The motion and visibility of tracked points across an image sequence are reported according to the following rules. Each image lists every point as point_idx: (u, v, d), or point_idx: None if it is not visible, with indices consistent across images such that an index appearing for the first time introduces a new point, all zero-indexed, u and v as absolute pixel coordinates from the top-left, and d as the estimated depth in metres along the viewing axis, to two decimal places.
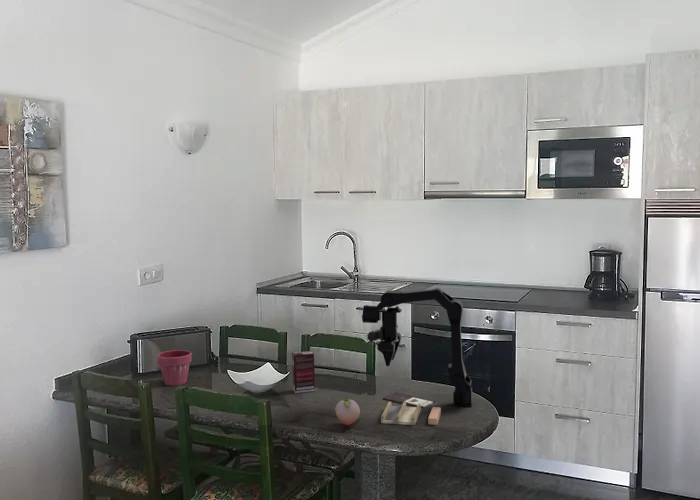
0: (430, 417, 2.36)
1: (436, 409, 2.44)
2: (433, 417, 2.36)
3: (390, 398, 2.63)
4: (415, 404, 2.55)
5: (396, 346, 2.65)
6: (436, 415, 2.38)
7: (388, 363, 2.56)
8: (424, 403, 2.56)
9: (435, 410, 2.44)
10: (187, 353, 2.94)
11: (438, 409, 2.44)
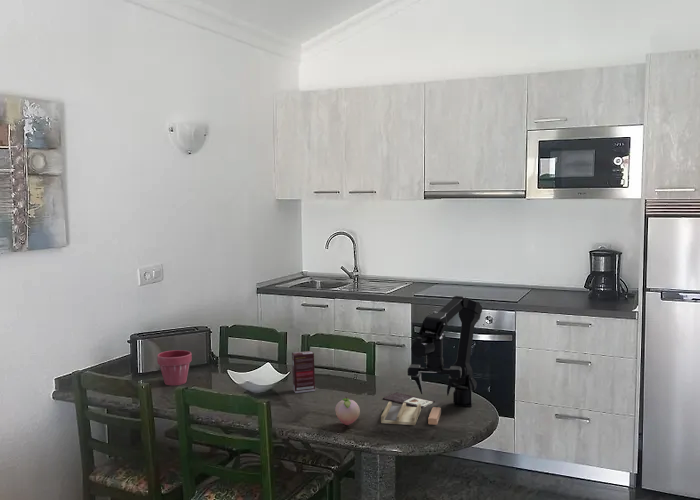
0: (430, 417, 2.36)
1: (436, 409, 2.44)
2: (433, 417, 2.36)
3: (390, 398, 2.63)
4: (415, 404, 2.55)
5: (448, 382, 2.37)
6: (436, 415, 2.38)
7: (420, 390, 2.41)
8: (424, 403, 2.56)
9: (435, 410, 2.44)
10: (187, 353, 2.94)
11: (438, 409, 2.44)
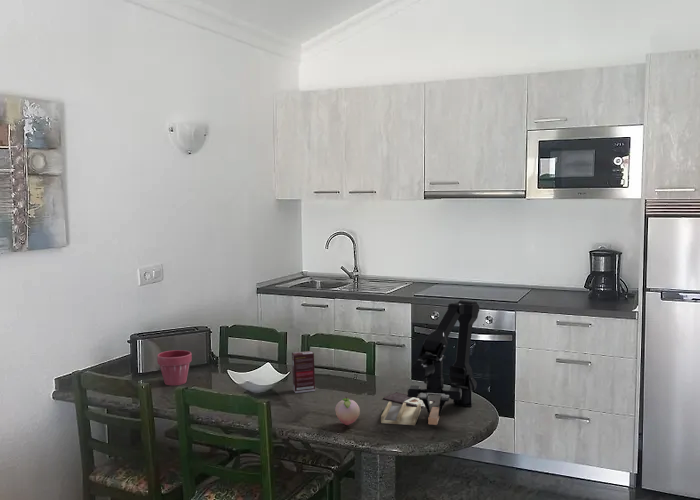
0: (430, 417, 2.36)
1: (436, 409, 2.44)
2: (433, 417, 2.36)
3: (390, 398, 2.63)
4: (415, 404, 2.55)
5: None
6: (436, 415, 2.38)
7: (428, 412, 2.41)
8: None
9: (435, 410, 2.44)
10: (187, 353, 2.94)
11: (438, 409, 2.44)
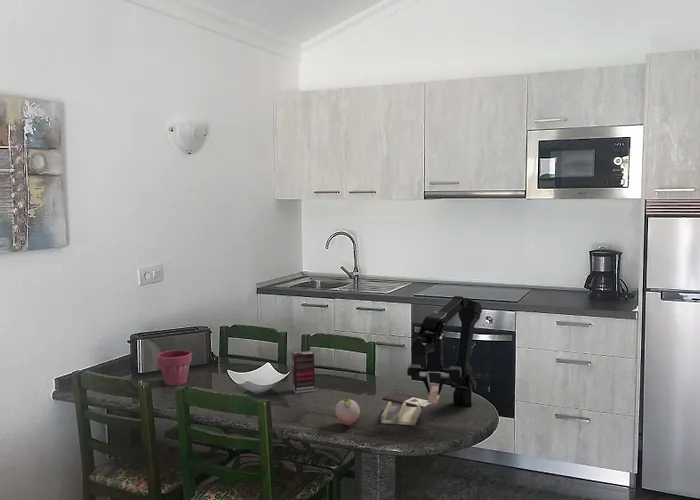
0: (430, 395, 2.35)
1: (436, 388, 2.43)
2: (433, 395, 2.35)
3: (390, 398, 2.63)
4: (415, 404, 2.55)
5: None
6: (436, 393, 2.37)
7: (428, 391, 2.40)
8: (424, 403, 2.56)
9: (435, 388, 2.43)
10: (187, 353, 2.94)
11: (438, 388, 2.44)
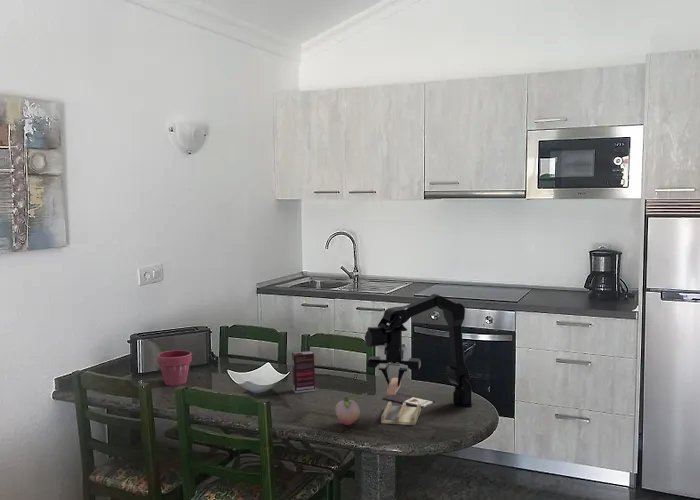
0: (389, 386, 2.38)
1: (396, 379, 2.46)
2: (392, 386, 2.38)
3: (390, 398, 2.63)
4: (415, 404, 2.56)
5: None
6: (395, 384, 2.40)
7: None
8: (424, 403, 2.56)
9: (395, 380, 2.46)
10: (187, 353, 2.94)
11: None
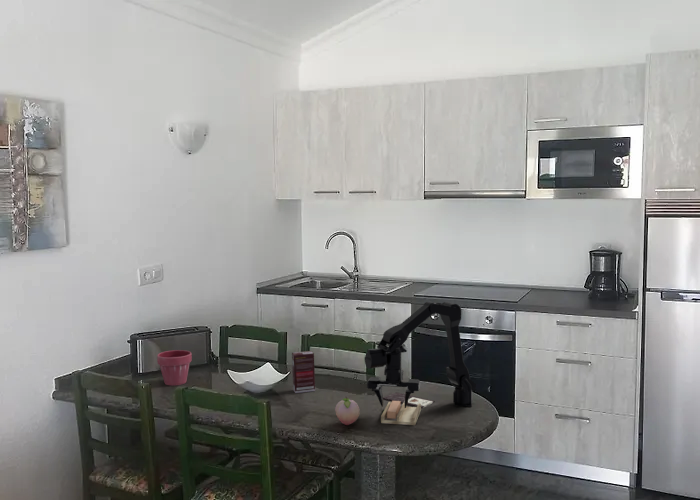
0: (389, 410, 2.39)
1: (396, 403, 2.47)
2: (392, 410, 2.39)
3: (390, 398, 2.63)
4: (415, 404, 2.56)
5: None
6: (395, 408, 2.41)
7: None
8: (424, 403, 2.57)
9: (394, 403, 2.47)
10: (187, 353, 2.94)
11: (398, 402, 2.48)
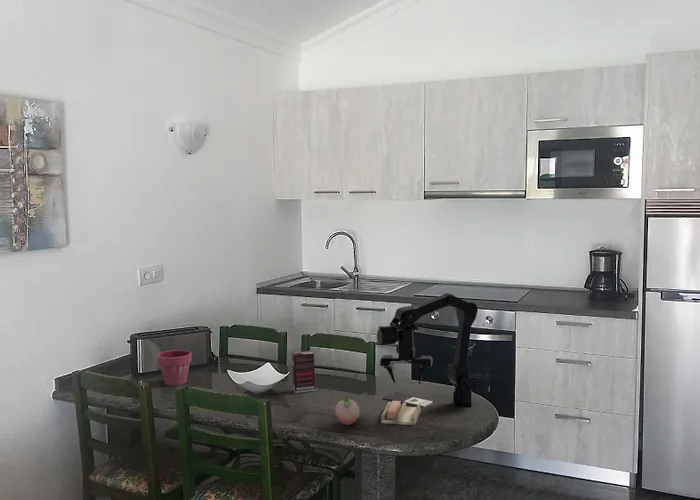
0: (389, 410, 2.39)
1: (396, 403, 2.47)
2: (392, 410, 2.39)
3: (390, 398, 2.63)
4: (415, 404, 2.56)
5: None
6: (395, 408, 2.41)
7: None
8: (424, 403, 2.57)
9: (394, 403, 2.47)
10: (187, 353, 2.94)
11: (398, 402, 2.48)
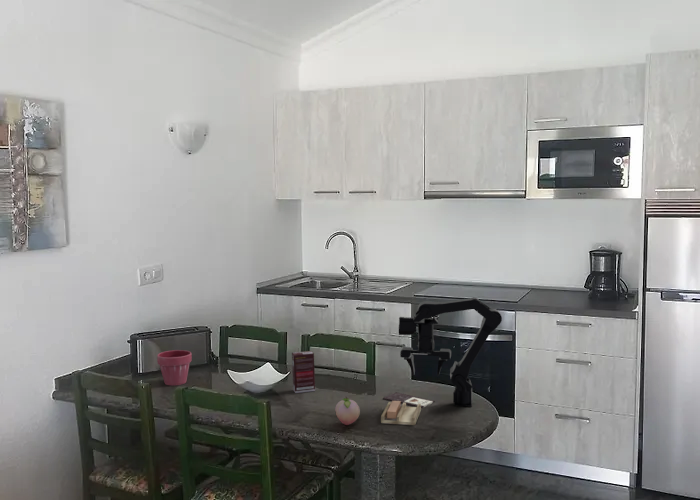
0: (389, 410, 2.39)
1: (396, 403, 2.47)
2: (392, 410, 2.39)
3: (390, 398, 2.63)
4: (415, 404, 2.56)
5: (438, 363, 2.53)
6: (395, 408, 2.41)
7: None
8: (424, 403, 2.57)
9: (394, 403, 2.47)
10: (187, 353, 2.94)
11: (398, 402, 2.48)
